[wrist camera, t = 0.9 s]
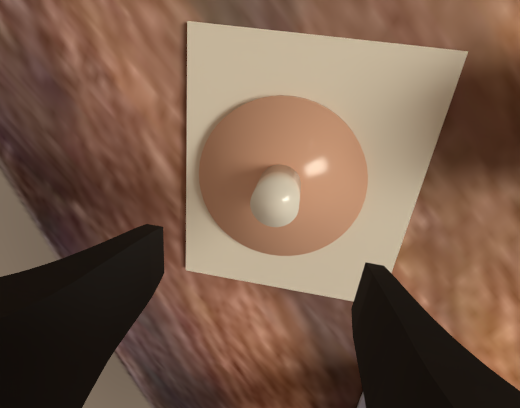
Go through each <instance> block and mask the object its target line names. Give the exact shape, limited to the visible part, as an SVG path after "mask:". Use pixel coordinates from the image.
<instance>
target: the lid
mask: <svg viewBox="0 0 520 408" xmlns="http://www.w3.org/2000/svg"><path fill="white" fill-rule="evenodd" d="M199 184H200V189H201V194H202V197H203V200H204V203H205V205H206V207H207V209H208V211H209V213H210V214H211V216H212V218H213V219H214V221H215V222H216V223H217V224H218V226H219V227H220V228H221V229H222V230H223V231H224V232H225V233H226V234H227V235H229V236H230V237H231V238H232V239H234V240H235V241H237V242H238V243H240V244H242V245H244V246H246V247H248V248H250V249H252V250H255V251H258V252H261V253H265V254H269V255H277V256H294V255H302V254H306V253H310V252H313V251H316V250H319V249H321V248H323V247H325V246H327V245H329V244H331V243H332V242H334V241H335V240H337V239H338V238H339V237H340V236H342V235H343V234H344V233H345V232H346V231H347V230H348V229H349V228H350V226H351V225H352V224H353V222H354V221H355V220H356V218H357V217H358V215H359V213H360V211H361V209H362V206H363V203H364V201H365V198H366V192H367V187H368V171H367V164H366V160H365V156H364V153H363V150H362V148H361V145H360V143H359V141H358V140H357V138H356V136H355V135H354V133H353V131H352V130H351V129H350V128H349V126H348V125H347V124H346V123H345V122H344V121H343V120H342V119H341V118H340V117H339V116H338V115H337V114H336V113H334V112H333V111H331V110H330V109H328V108H327V107H325V106H323V105H321V104H319V103H317V102H315V101H312V100H309V99H306V98H302V97H297V96H289V95H276V96H267V97H263V98H258V99H255V100H253V101H250V102H247V103H245V104H244V105H242V106H240V107H238V108H236V109H235V110H233V111H232V112H231V113H229V114H228V115H227V116H225V117H224V118H223V119H222V120H221V121H220V122H219V123H218V124H217V126H216V127H215V128H214V130H213V131H212V132H211V134H210V136H209V137H208V139H207V141H206V143H205V146H204V148H203V151H202V154H201V159H200V165H199Z"/></svg>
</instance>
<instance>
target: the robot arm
mask: <svg viewBox="0 0 520 408" xmlns="http://www.w3.org/2000/svg"><path fill="white" fill-rule="evenodd" d="M163 274H164V247H163V227H161V226H155V225H149V224H146V225H143V226H140V227H137V228H135V229H133V230H130V231H128V232H126V233H123V234H121V235H119V236H117V237H114V238H112V239H110V240H107V241H105V242H103V243H100V244H98V245H96V246H93V247H91V248H88V249H86V250H83V251H81V252H78V253H76V254H73V255H71V256H68V257H65V258H63V259H60V260H57V261H54V262H51V263H48V264H45V265H42V266H39V267H36V268H32V269H30V270H26V271H22V272H19V273H15V274H11V275H7V276H3V277H0V408H82V407H83V405H84V403H85V401H86V399H87V397H88V395H89V394H90V392H91V390H92V388H93V386H94V385H95V383H96V381H97V379H98V377H99V376H100V374H101V372H102V370H103V369H104V367H105V365H106V363H107V361H108V360H109V358H110V357H111V355H112V354H113V352H114V351H115V349H116V348H117V346H118V345H119V343H120V342H121V341H122V339H123V338H124V336H125V335H126V333H127V332H128V331H129V329H130V328H131V326H132V325H133V323H134V322H135V321H136V319H137V318H138V316H139V315H140V314H141V312H142V311H143V309H144V308H145V306H146V305H147V303H148V302H149V300H150V299H151V297H152V296H153V294H154V292H155V290H156V288H157V287H158V285H159V283H160V280H161V278H162V276H163ZM352 328H353V339H354V345H355V350H356V356H357V362H358V367H359V372H360V378H361V383H362V388H363V392H362V395H361V398H360V400H359V403H358V406H357V408H520V391H519V390H518V389H516V388H515V387H514V386H512V385H511V384H509V383H508V382H507V381H505V380H504V379H503V378H501V377H500V376H499V375H497V374H496V373H495V372H494V371H492V370H491V369H490V368H488V367H487V366H486V365H485V364H483V363H482V362H481V361H480V360H479V359H477V358H476V357H475V356H474V355H473V354H471V353H470V352H469V351H468V350H467V349H466V348H464V347H463V346H462V345H461V344H460V343H459V342H457V341H456V340H455V339H454V338H453V337H452V336H451V335H450V334H449V333H448V332H447V331H446V330H444V329H443V328H442V327H441V326H440V325H439V324H438V323H437V322H436V321H435V320H434V319H433V318H432V317H431V316H430V315H429V314H428V313H427V312H426V311H425V310H424V309H423V308H422V307H421V306H420V304H419V303H418V302H417V301H416V300H415V299H414V298H413V297H412V296H411V295H410V294H409V293H408V291H407V290H406V289H405V288H404V287H403V286H402V285H401V284H400V283H399V281H398V280H397V279H396V278H395V277H394V276H393V275H392V274H391V272H390V271H389V270H388V269H387V268H386V267H385V266H383V265H378V264H372V263H366V262H365V266H364V269H363V272H362V276H361V279H360V282H359V286H358V289H357V292H356V296H355V299H354V302H353V305H352Z"/></svg>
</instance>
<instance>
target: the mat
mask: <svg viewBox="0 0 520 408" xmlns="http://www.w3.org/2000/svg"><path fill="white" fill-rule="evenodd" d="M467 53H468V51H459V50H450V49H441V48H432V47H422V46H413V45H404V44H395V43H385V42H376V41H367V40H358V39H349V38H339V37H330V36H321V35H312V34H302V33H293V32H284V31H275V30H265V29H256V28H247V27H238V26H228V25H219V24H210V23H201V22H191V21H187V156H186V270H187V271H193V272H198V273H204V274H209V275H214V276H220V277H225V278H230V279H236V280H241V281H247V282H252V283H257V284H263V285H268V286H273V287H279V288H284V289H290V290H295V291H300V292H306V293H311V294H316V295H322V296H327V297H333V298H338V299H343V300H349V301H354V299H355V296H356V292H357V289H358V286H359V282H360V279H361V276H362V272H363V269H364V266H365V262H366V263H372V264H378V265H383V266H385V267H386V268H387V269H388V270H389V271H390V272H391V273H392V270H393V267H394V264H395V261H396V258H397V255H398V252H399V250H400V247H401V244H402V241H403V238H404V235H405V232H406V229H407V226H408V224H409V221H410V218H411V215H412V212H413V209H414V206H415V203H416V200H417V198H418V195H419V192H420V189H421V186H422V183H423V180H424V177H425V175H426V172H427V169H428V166H429V163H430V160H431V157H432V154H433V151H434V149H435V146H436V143H437V140H438V137H439V134H440V131H441V128H442V126H443V123H444V120H445V117H446V114H447V111H448V108H449V105H450V102H451V100H452V97H453V94H454V91H455V88H456V85H457V82H458V79H459V77H460V74H461V71H462V68H463V65H464V62H465V59H466V56H467ZM276 95H289V96H297V97H302V98H306V99H309V100H312V101H315V102H317V103H319V104H321V105H323V106H325V107H327V108H328V109H330V110H331V111H333V112H334V113H336V114H337V115H338V116H339V117H340V118H341V119H342V120H343V121H344V122H345V123H346V124H347V125H348V126H349V128H350V129H351V130H352V131H353V133H354V135H355V136H356V138H357V140H358V141H359V143H360V145H361V148H362V150H363V153H364V156H365V160H366V164H367V171H368V187H367V192H366V198H365V201H364V203H363V206H362V209H361V211H360V213H359V215H358V217H357V218H356V220H355V221H354V222H353V224H352V225H351V226H350V228H349V229H348V230H347V231H346V232H345V233H344V234H343V235H342V236H340V237H339V238H338V239H337V240H335V241H334V242H332V243H331V244H329V245H327V246H325V247H323V248H321V249H319V250H316V251H313V252H310V253H306V254H302V255H294V256H277V255H269V254H265V253H261V252H258V251H255V250H252V249H250V248H248V247H246V246H244V245H242V244H240V243H238V242H237V241H235V240H234V239H232V238H231V237H230V236H229V235H227V234H226V233H225V232H224V231H223V230H222V229H221V228H220V227H219V226H218V224H217V223H216V222H215V221H214V219H213V218H212V216H211V214H210V213H209V211H208V209H207V207H206V205H205V203H204V200H203V197H202V194H201V189H200V184H199V165H200V159H201V154H202V151H203V148H204V146H205V143H206V141H207V139H208V137H209V136H210V134H211V132H212V131H213V130H214V128H215V127H216V126H217V124H218V123H219V122H220V121H221V120H222V119H223V118H224V117H225V116H227V115H228V114H229V113H231V112H232V111H233V110H235V109H236V108H238V107H240V106H242V105H244V104H245V103H247V102H250V101H253V100H255V99H258V98H263V97H267V96H276Z"/></svg>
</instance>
